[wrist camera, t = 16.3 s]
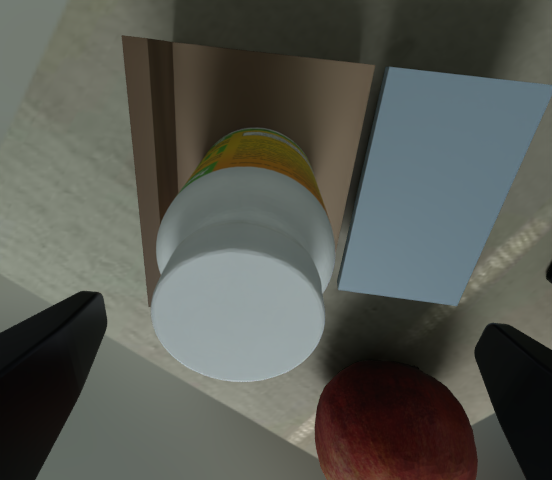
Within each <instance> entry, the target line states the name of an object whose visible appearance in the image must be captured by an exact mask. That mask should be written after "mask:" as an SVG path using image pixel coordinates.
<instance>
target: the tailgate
mask: <svg viewBox="0 0 552 480" xmlns="http://www.w3.org/2000/svg"><path fill="white" fill-rule="evenodd" d="M551 96H552V85H546V84H537V83H528V82H520V81H511V80H502V79H493V78H484V77H476V76H467V75H458V74H449V73H440V72H431V71H423V70H414V69H405V68H396V67H385V71H384V76H383V80H382V85H381V89H380V93H379V98H378V102H377V107H376V111H375V116H374V120H373V124H372V129H371V133H370V138H369V142H368V147H367V151H366V155H365V160H364V164H363V169H362V173H361V178H360V182H359V186H358V191H357V195H356V200H355V204H354V209H353V213H352V217H351V222H350V226H349V231H348V235H347V240H346V244H345V248H344V253H343V257H342V262H341V266H340V271H339V275H338V279H337V285H338V290H343V291H351V292H358V293H365V294H373V295H380V296H387V297H394V298H402V299H409V300H416V301H424V302H431V303H438V304H446V305H453V306H457V305H458V303H459V301H460V298H461V296H462V294H463V292H464V290H465V287H466V285H467V283H468V281H469V278H470V276H471V274H472V272H473V269H474V267H475V265H476V263H477V261H478V258H479V256H480V254H481V252H482V249H483V247H484V245H485V243H486V241H487V238H488V236H489V234H490V232H491V229H492V227H493V225H494V223H495V220H496V218H497V216H498V214H499V212H500V209H501V207H502V205H503V203H504V200H505V198H506V196H507V194H508V192H509V189H510V187H511V185H512V183H513V180H514V178H515V176H516V174H517V172H518V169H519V167H520V165H521V163H522V160H523V158H524V156H525V154H526V151H527V149H528V147H529V145H530V143H531V140H532V138H533V136H534V134H535V131H536V129H537V127H538V125H539V123H540V120H541V118H542V116H543V114H544V111H545V109H546V107H547V105H548V102H549V100H550V98H551Z"/></svg>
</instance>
